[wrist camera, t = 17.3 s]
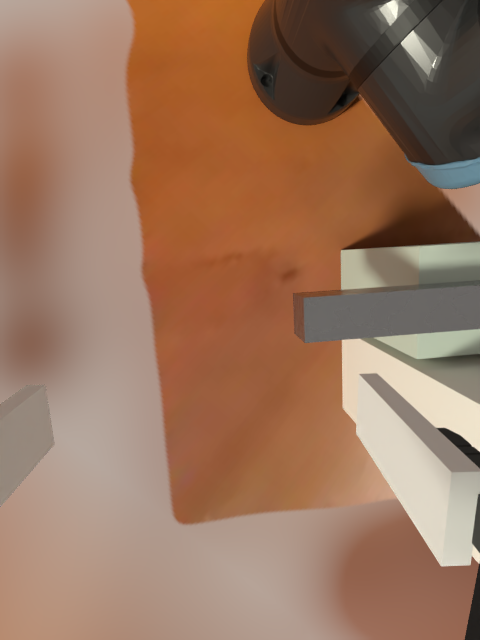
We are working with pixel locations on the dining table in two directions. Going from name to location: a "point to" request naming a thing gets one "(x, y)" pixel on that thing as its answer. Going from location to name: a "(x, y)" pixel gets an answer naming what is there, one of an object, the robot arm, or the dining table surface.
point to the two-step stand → (418, 339)
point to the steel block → (386, 311)
